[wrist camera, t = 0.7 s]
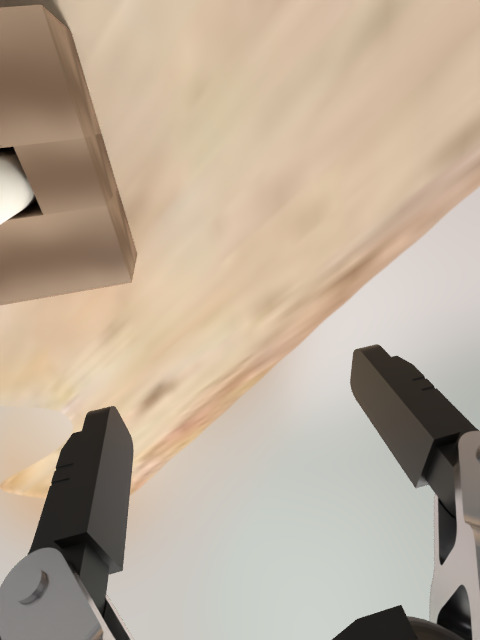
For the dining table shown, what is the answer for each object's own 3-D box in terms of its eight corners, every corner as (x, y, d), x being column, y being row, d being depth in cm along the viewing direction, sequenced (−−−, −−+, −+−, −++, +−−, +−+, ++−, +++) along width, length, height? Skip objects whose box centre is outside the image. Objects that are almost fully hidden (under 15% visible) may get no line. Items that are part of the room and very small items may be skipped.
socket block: (-134, 48, 22) (-238, 24, 17) (70, 31, 24) (41, 4, 18) (-1, 276, 32) (-37, 311, 27) (137, 254, 34) (131, 282, 28)
